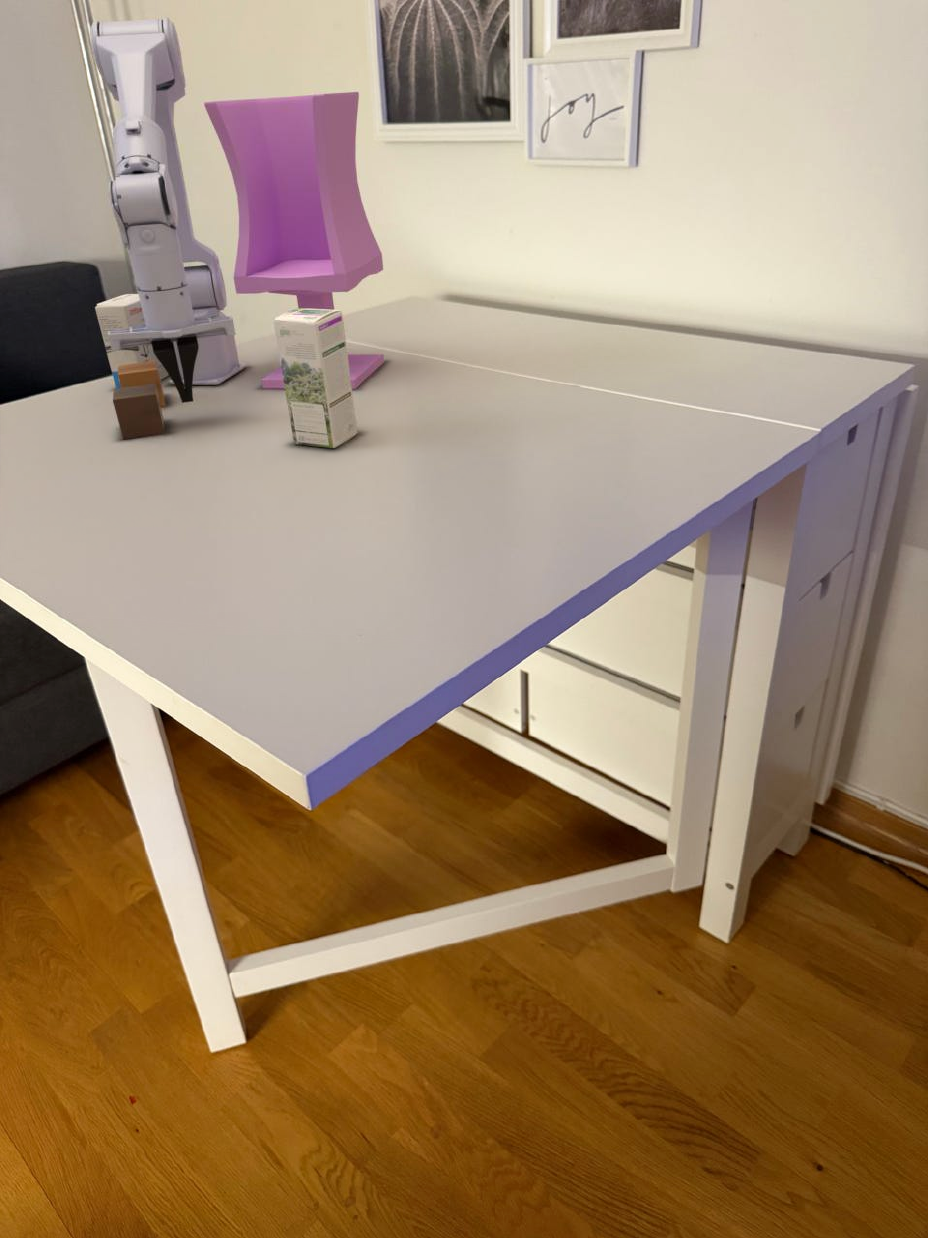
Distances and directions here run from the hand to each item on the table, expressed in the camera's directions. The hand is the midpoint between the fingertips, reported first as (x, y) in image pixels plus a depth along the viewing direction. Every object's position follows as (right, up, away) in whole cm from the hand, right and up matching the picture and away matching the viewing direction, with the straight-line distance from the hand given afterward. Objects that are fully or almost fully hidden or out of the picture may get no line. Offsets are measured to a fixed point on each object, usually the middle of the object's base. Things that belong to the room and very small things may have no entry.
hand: (187, 400), depth 113 cm
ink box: (-13, +8, +20) cm, 25 cm away
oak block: (-9, +2, +10) cm, 14 cm away
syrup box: (+18, -7, -7) cm, 21 cm away
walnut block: (-5, -4, 0) cm, 7 cm away
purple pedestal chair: (+15, +8, +18) cm, 24 cm away
